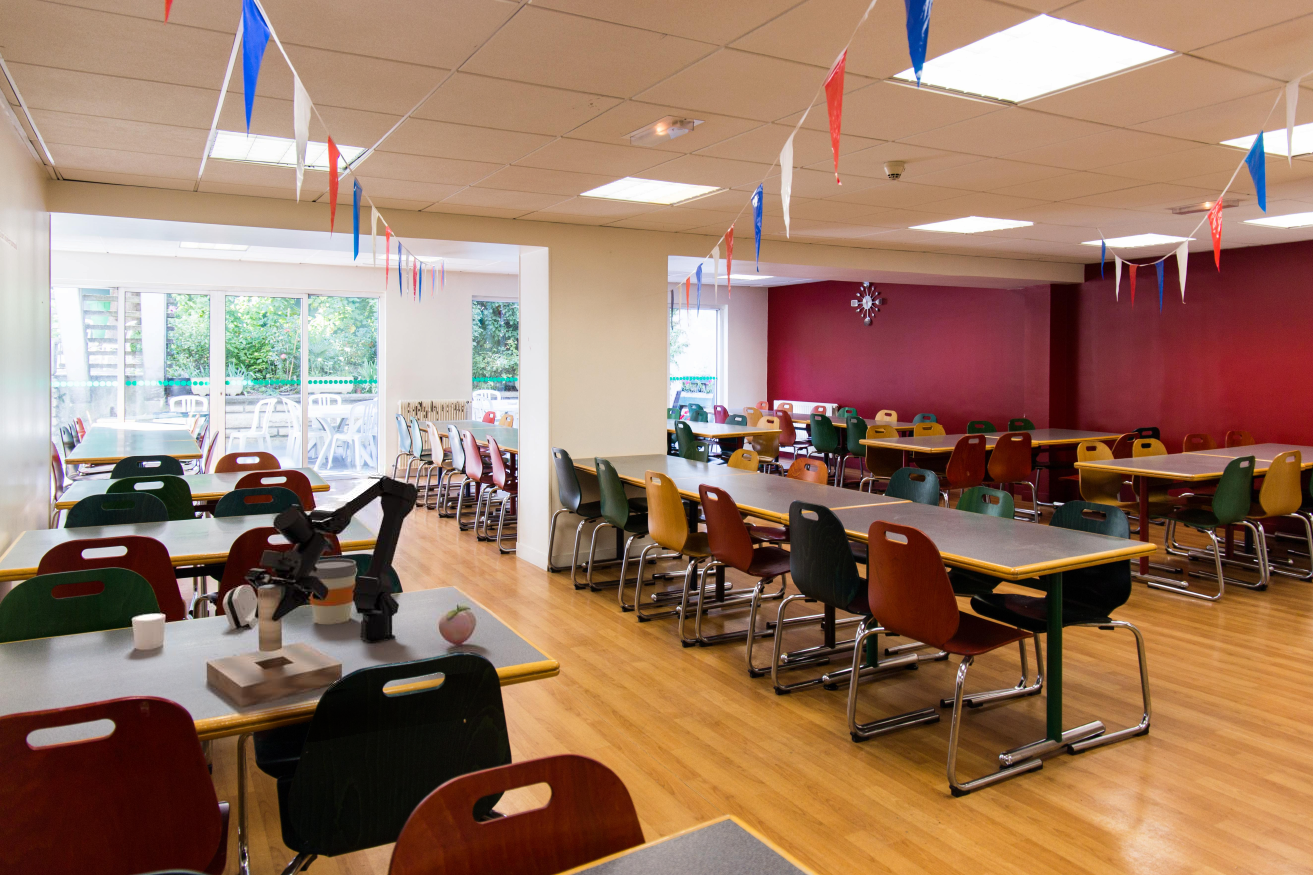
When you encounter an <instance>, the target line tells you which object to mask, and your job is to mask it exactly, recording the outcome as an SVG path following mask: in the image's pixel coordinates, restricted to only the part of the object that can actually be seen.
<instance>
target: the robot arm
mask: <svg viewBox="0 0 1313 875" xmlns="http://www.w3.org/2000/svg"><path fill="white" fill-rule="evenodd" d="M418 494H419V492H418V489H417V488H416V485H415V484H414V483H411V482H403V481H399V480H397V479H394V478H391V477H389V476H388V475H379V474H372V475H369V476H368V477H367V479H366V480H365V481H363V482H361V483H360V484H359V485H357V486H356V487H355V488H353V489H352V490H351V491H349V492H348V493H346V494H344V495H343V496H341V498H339V499H338V500H335V501H332V502H328V503H324V504H322V505H320V506H318V507H315V508H314V509H312V510H311V511H310V513H308V514H307V512H306V511H305V510H304V508H303V507H302V506H301V505H300V504H292V505H291V506H290V508H287V509H285V510H283V511H282V512H280V513H279V514H277V515H276V516H275V518H274V520H273V528H275V529H276V531H278V532H279V534H281V536H282V537H283V538H285V540H286V541H287V542H288V543H289V544H291V545H295V546H294V547H293V549H292V550H291V549H287V550H285V552H279V551H274V550H273V551H272V550H264V551H263V554H262V557H261V559H260V562H259V566H260V567H261V566H262V567H263V566H265V567H267V568H271V570H270V571H271V572H272V573H273V574H275V575H276V576H273V575H272V574H271V573H270V572H269V571H268V570H267V569H262V568H255V567H254V568H251V569H249V570H248V571H247V573H246V575H245V576H244V579H245V580H246V581H248V583H249V584H251V585H252V587H254V588H255V589H256V590H257V591H258V587H260V586H264V585H280V586H281V589H282V588H284V595H283V597H281V602H280V604H279V605H278V607H277V609H276V610H275V612H274V614H273V617H272V620H273V621H277V620H279V619H280V618H284V617H285V616H286V615H288V614H289V613H291V612H292V611H294V610H296V609H297V608H299V607H301V606H302V605H304V604H306V603H309V602H310V601H311V600H310V599H309V597H310V595H311V594H312V593H313V594H312V596H313V599H314V600H319V601H324V600H325V598H326V597H327V595H328V587H327V586H326V585H325V584H324V583H323V582H322V581H321V580H320V579H319V578H318V577H316V576H309V574H310V573H311V572H314V573H316V571H317V569H318V568H317V567H316V566H315V565H316V563H317V562H318V560H320V558H321V557H322V556H323V553H325V551H327V552H334V550H335V548H334V544H333V539H332V538H327V537H325V534H326V535H339V534H340V535H341V533H342V532H344V530H345V529H346V528H347V527H349V525H350V524H351V521H352V517H353V516H354V515H356V514H357V513H358V512H359V511H361V510H362V509H364V508H365V507H367V505H369V504H370V503H371V502H373V501H375V500H376V499H377V498H381V499H380V505H381V506H380V507H381V510H382V513H383V516H382V518H381V519H382V520H381V523H380V527H379V531H378V534H377V538H376V541H375V544H374V549H373V551H372V555H371V560H370V562H369V566H368V569H367V572H365V573H364V575H363V576H361V575H358V576H357V577H356V578H355V582H356V584H355V587H354V590H353V591H352V593H354V594H353V601H352V602H354V603H353V604H354V606H355V609H356V613H357V614H360V615H361V614H362V620H361V621H360V635H359V638H360V639H362V640H364V641H366V642H368V643H370V644H374V643H378V642H382V641H388V640H393V639H395V638H396V636H397V635H395V634H393V617H394V616H395V614H398V611H399V606H400V604H399V603H398V602H397V600H396V599H395V598H394V597H393V596H392V590H393V586H392V583H391V578H390V572H391V567H392V564H393V561H394V556H395V553H396V550H397V547H398V546H397V545H398V542H399V538H400V534H401V530H402V527H403V524H404V520H405V518H406V517H407V516H409V514H410V513H411V512H412V511H413V510H414V508H415V505H416V503H417V501H418V497H419V495H418ZM255 617H256V618H257V619H258V603H257V607H256V612H255Z"/></svg>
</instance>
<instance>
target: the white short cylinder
mask: <svg viewBox="0 0 1313 875" xmlns="http://www.w3.org/2000/svg"><path fill="white" fill-rule="evenodd" d="M131 622H132V624H131V625H132V631H133V639H134V644H135V649H136V650H142V651H143V650H147V651H148V650H154V649H157V648H161V647H163V646H164V640H165V638H164V637H165V629H166V628H165V625H166V614H164V613H157V612H156V613H145V614H144V613H143V614H139V615H136V616H133V617H132V618H131Z"/></svg>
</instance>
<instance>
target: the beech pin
mask: <svg viewBox="0 0 1313 875" xmlns="http://www.w3.org/2000/svg"><path fill="white" fill-rule="evenodd" d="M257 599H258V623H257V624H258V651H263V652H269V651H276V650H279V649H281V648H282V646H283V636H282V633H283V632H282V631H283V630H282V629H283V628H282V626H283V625H282V618H283V617H282V618H280V619H279V620H277V621H273V620H272V617H273V614H274V612H275V610H276V609H277V607H278V605H279V604H280V602H281V600H282V587H281V586H280V585H264V586H260V587H258V590H257Z"/></svg>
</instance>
